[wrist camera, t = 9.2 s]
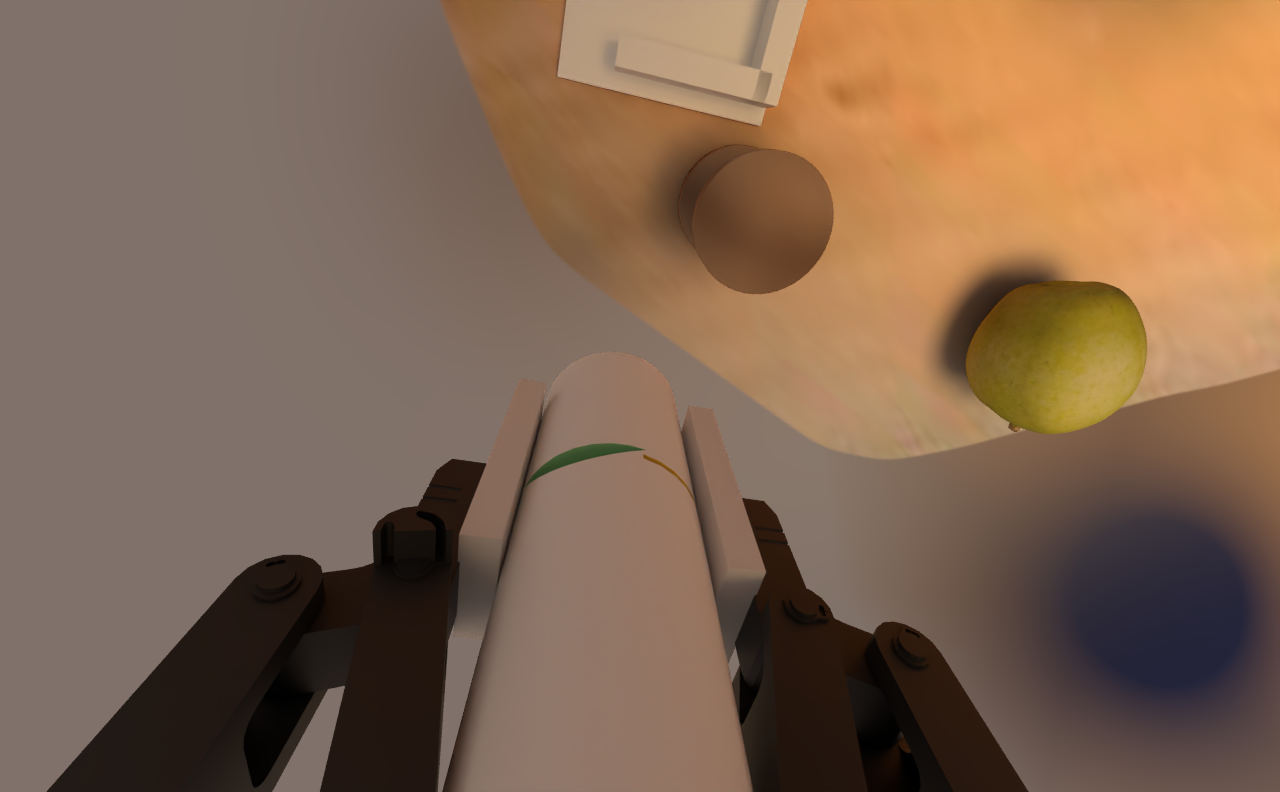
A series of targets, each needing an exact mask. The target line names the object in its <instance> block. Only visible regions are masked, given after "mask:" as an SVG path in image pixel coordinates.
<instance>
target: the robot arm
mask: <svg viewBox="0 0 1280 792" xmlns="http://www.w3.org/2000/svg"><path fill="white" fill-rule="evenodd" d="M545 388H546V383H544V382H538V381H532V380H526V379H520V380H519V383H518V385H517V388H516V391H515V393H514V396H513V398H512V401H511V403H510V406H509V408H508V411H507V413H506V416H505V418H504V421H503V424H502V426H501V429H500V431H499V434H498V437H497V439H496V441H495V444H494V447H493V449H492V452H491V454H490V457H489V459H488V462H487V464H486V463H478V462H472V461H464V460H457V459H451V460H450V461H449V462H447V463H446V464H444V465H443V466H442V467H440V468H439V469H438V470H437V471H436V473H435V475H434V477H433V478H432V480H431V482H430V484H429V487H428V488H427V490H426V492H425V494H424V495H423V499H421V501H420V503H419V505H418V506H415V507H407V508H402V509H399V510H396V511H394V512H391V513H389V514H387V515H386V516H385V517H384V518H382V519H381V520H380V521H378V523H377V525H376V526H375V528H374V530H373V554H374V563H372V564H369V565H366V566H364V567H359V568H354V569H348V570H341V571H333V572H326V573H322V569H321V566H320V565H319V564H317V562H316V561H314V560H313V559H311V558H308V557H305V556H301V555H281V556H277V557H272V558H268V559H265V560H262V561H260V562H258V563H256V564H254V565H252V566H250V567H248V568H247V569H246V570H245V571H243V572H242V573H241V574H240V575H239V576H237V577H236V578H235V579H234V580H233V582H232V583H231V584H230V585H229V586H228V587H227V588H226V589H225V591H224V592H223V593H222V594H221V595H220V596H219V597H218V598H217V600H216V601H215V602H214V603H213V604H212V605H211V606H210V607H209V609H208V610H207V611H206V612H205V613H204V614H203V615H202V616H201V618H200V619H199V620H198V621H197V622H196V623H195V624H194V626H193V627H192V628H191V629H190V630H189V631H188V632H187V634H186V635H185V636H184V637H183V638H182V639H181V640H180V641H179V642H178V644H177V645H176V646H175V647H174V648H173V649H172V650H171V651H170V653H169V654H168V655H167V656H166V657H165V658H164V659H163V661H162V662H161V663H160V664H159V665H158V666H157V667H156V668H155V670H154V671H153V672H152V673H151V674H150V675H149V676H148V678H147V679H146V680H145V681H144V682H143V683H142V684H141V685H140V687H139V688H138V689H137V690H136V691H135V692H134V693H133V694H132V696H131V697H130V698H129V699H128V700H127V701H126V702H125V704H124V705H123V706H122V707H121V708H120V709H119V710H118V711H117V713H116V714H115V715H114V716H113V717H112V718H111V719H110V721H109V722H108V723H107V724H106V725H105V726H104V727H103V728H102V730H101V731H100V732H99V733H98V734H97V735H96V736H95V737H94V739H93V740H92V741H91V742H90V743H89V744H88V745H87V746H86V748H85V749H84V750H83V751H82V752H81V753H80V755H79V756H78V757H77V758H76V759H75V760H74V761H73V762H72V764H71V765H70V766H69V767H68V768H67V769H66V770H65V771H64V773H63V774H62V775H61V776H60V777H59V778H58V779H57V781H56V782H55V783H54V784H53V785H52V786H51V787H50V788H49V790H48V791H47V792H272V791H273V789H274V787H275V786H276V784H277V782H278V780H279V778H280V776H281V774H282V773H283V771H284V769H285V767H286V765H287V763H288V762H289V760H290V758H291V756H292V754H293V752H294V751H295V749H296V747H297V745H298V743H299V741H300V740H301V738H302V735H303V734H304V732H305V730H306V728H307V727H308V725H309V723H310V721H311V719H312V717H313V716H314V714H315V712H316V710H317V708H318V706H319V705H320V703H321V701H322V699H323V697H324V695H325V693H326V692H327V690H328V689H331V688H335V687H340V686H345V689H344V693H343V697H342V702H341V706H340V710H339V714H338V718H337V722H336V727H335V731H334V735H333V739H332V744H331V747H330V752H329V756H328V760H327V764H326V769H325V772H324V777H323V781H322V785H321V789H320V792H438V779H439V765H440V751H441V735H442V722H443V707H444V694H445V680H446V664H447V648H448V640H449V637H450V634H451V631H452V628H453V625H454V633H453V636H456V637H466V638H476V639H483V637H484V633H485V630H486V626H487V622H488V618H489V615H490V611H491V607H492V603H493V600H494V596H495V592H496V588H497V585H498V581H499V577H500V573H501V570H502V566H503V562H504V558H505V555H506V551H507V547H508V544H509V540H510V536H511V533H512V529H513V525H514V521H515V518H516V514H517V510H518V507H519V503H520V499H521V495H522V492H523V488H524V484H525V480H526V476H527V473H528V469H529V465H530V461H531V458H532V454H533V450H534V446H535V442H536V439H537V435H538V431H539V427H540V424H541V419H542V411H543V403H544V396H545ZM681 434H682V439H683V444H684V449H685V454H686V459H687V463H688V468H689V473H690V478H691V483H692V488H693V493H694V498H695V503H696V508H697V513H698V518H699V523H700V527H701V532H702V537H703V542H704V547H705V552H706V557H707V562H708V567H709V572H710V577H711V582H712V587H713V592H714V597H715V602H716V607H717V611H718V616H719V621H720V626H721V631H722V636H723V641H724V646H725V651H726V656H727V661H728V663H729V660H730V658H731V656H732V653H733V651H734V649H735V646H736V650H737V655H738V659H739V664H740V665H739V668H738V670H737V673H736V675H735V677H734V680H733V682H732V686H733V691H734V696H735V701H736V706H737V711H738V716H739V721H740V726H741V731H742V736H743V741H744V746H745V751H746V756H747V761H748V766H749V771H750V776H751V781H752V786H753V791H754V792H1028V790H1027V789H1026V787H1025V785H1024V784H1023V782H1022V781H1021V779H1020V778H1019V776H1018V774H1017V773H1016V771H1015V770H1014V768H1013V766H1012V765H1011V763H1010V762H1009V760H1008V759H1007V757H1006V755H1005V754H1004V752H1003V751H1002V749H1001V748H1000V746H999V744H998V743H997V741H996V740H995V738H994V737H993V735H992V733H991V732H990V730H989V728H988V727H987V725H986V724H985V722H984V721H983V719H982V717H981V716H980V715H979V713H978V711H977V710H976V708H975V707H974V705H973V703H972V702H971V700H970V698H969V697H968V695H967V694H966V692H965V691H964V689H963V687H962V686H961V684H960V683H959V681H958V679H957V678H956V676H955V675H954V673H953V672H952V670H951V668H950V667H949V665H948V664H947V662H946V660H945V659H944V657H943V656H942V654H941V653H940V652H939V650H938V649H937V648H936V646H935V645H934V644H933V643H932V642H931V641H930V640H929V639H928V638H926V637H925V636H924V635H923V634H921V633H920V632H919V631H917V630H915V629H913V628H911V627H909V626H907V625H905V624H901V623H897V622H884V623H882V624H881V625H880V626H878V627H877V628H876V630H875V632H874V633H873V634H871V633H868V632H865V631H863V630H860V629H858V628H855V627H852V626H850V625H847V624H845V623H843V622H841V621H839V620H836V619H835V618H834V617H833V614H832V612H831V609H830V608H829V606H828V605H827V604H826V603H825V602H824V600H822V598H821V597H819V596H818V595H816V594H815V593H814V592H812V591H811V590H809V589H806V586H805V584H804V581H803V579H802V577H801V574H800V571H799V569H798V567H797V564H796V561H795V559H794V557H793V554H792V552H791V549H790V547H789V545H787V544H788V542H787V539H786V537H785V534H784V533H783V529H782V527H781V525H780V522H779V520H778V517H777V515H776V514H775V513H774V512H773V511H772V509H771V508H770V507H769V506H768V505H767V504H766V503H765V502H764V501H759V500H751V499H745V498H742V497H741V494H740V491H739V488H738V486H737V482H736V479H735V476H734V473H733V470H732V467H731V464H730V461H729V458H728V455H727V452H726V449H725V446H724V443H723V440H722V436H721V433H720V430H719V427H718V424H717V421H716V418H715V415H714V412H713V410H712V409H706V408H700V407H694V406H688V409H687V413H686V417H685V420H684V424H683V428H682V431H681Z"/></svg>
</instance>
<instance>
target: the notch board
mask: <svg viewBox="0 0 1280 792" xmlns="http://www.w3.org/2000/svg"><path fill="white" fill-rule="evenodd" d="M807 1H808V0H566V9H565V17H564V25H563V33H562V42H561V50H560V58H559V66H558V75H557V76H558V77H560V78H564V79H568V80H572V81H576V82H580V83H584V84H588V85H592V86H596V87H601V88H605V89H609V90H613V91H617V92H621V93H625V94H629V95H633V96H637V97H641V98H645V99H649V100H654V101H658V102H662V103H666V104H670V105H674V106H678V107H682V108H686V109H690V110H694V111H698V112H702V113H707V114H711V115H715V116H719V117H723V118H727V119H731V120H735V121H739V122H743V123H747V124H751V125H755V126H761V123H762V120H763V116H764V112H765V109H766V108H769V107H777V105H778V101H779V98H780V94H781V91H782V87H783V84H784V81H785V77H786V74H787V70H788V67H789V63H790V60H791V56H792V53H793V49H794V46H795V42H796V39H797V35H798V32H799V28H800V25H801V21H802V18H803V14H804V11H805V8H806V4H807Z"/></svg>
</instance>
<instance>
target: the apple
mask: <svg viewBox="0 0 1280 792" xmlns="http://www.w3.org/2000/svg"><path fill="white" fill-rule="evenodd" d="M1146 357H1147V339H1146V332H1145V328H1144V325H1143V322H1142V319H1141V317H1140V314H1139V312H1138V310H1137V308H1136V306H1135V304H1134V303H1133V301H1132V300H1131V299H1130V298H1129V296H1128V295H1126V294H1125V293H1124V292H1123V291H1122V290H1120V289H1119V288H1116V287H1114V286H1111V285H1109V284H1105V283H1101V282H1078V281H1047V282H1041V283H1036V284H1028V285H1023V286H1020V287H1018V288H1016V289H1014V290H1012V291H1011V292H1009V293H1008V294H1007V295H1006V296H1005V297H1004V298H1002V299H1001V300H1000V301H999V302H998V303H997V304H996V305H995V307H994V308H993V309H992V310H991V311H990V313H989V314H988V315H987V316H986V317H985V319H984V320H983V321H982V323H981V324H980V326H979V327H978V329H977V331H976V332H975V334H974V336H973V338H972V340H971V343H970V345H969V348H968V352H967V357H966V373H967V378H968V381H969V384H970V387H971V389H972V391H973V392H974V394H975V395H976V396H977V398H978V399H979V400H980V401H981V402H982V403H983V404H985V405H986V406H988V407H989V408H990V409H991V410H993V411H994V412H995V413H996V414H998V415H999V416H1000V417H1001V418H1003V419H1005V420H1006V421H1008V422H1010V424H1009V427H1008V428H1009V429H1011V430H1012V431H1014V432H1018V431H1019V430H1020V427H1021V428H1023V429H1026V430H1030V431H1033V432H1037V433H1042V434H1058V433H1066V432H1070V431H1075V430H1079V429H1082V428H1085V427H1088V426H1090V425H1093V424H1095V423H1098V422H1100V421H1102V420H1103V419H1105V418H1107V417H1108V416H1110V415H1111V414H1113V413H1114V412H1115V411H1117V410H1118V409H1119V408H1120V407H1121V406H1122V405H1123V404H1124V403H1125V402H1126V401H1127V400H1128V399H1129V398H1130V397H1131V395H1132V394H1133V393H1134V391H1135V390H1136V388H1137V386H1138V384H1139V382H1140V380H1141V378H1142V375H1143V372H1144V369H1145V364H1146Z"/></svg>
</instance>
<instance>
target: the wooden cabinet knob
mask: <svg viewBox="0 0 1280 792" xmlns="http://www.w3.org/2000/svg"><path fill="white" fill-rule="evenodd" d="M678 209H679V218H680V223H681V226H682V228H683V231H684V233H685V235H686V237H687V238H688V240H689V241H690V243H691V244H692V245H693V247H694V248H695V249H696V250H697V253H698V255H699V257H700V259H701V260H702V262H703V264H704V265H705V267H706V268H707V270H708V271H709V272H710V273H711V274H712V276H713V277H714V278H715V279H717V280H718V281H719V282H720V283H722V284H723V285H725V286H727V287H728V288H731V289H733V290H735V291H739V292H742V293H748V294H765V293H771V292H775V291H778V290H781V289H783V288H786V287H788V286H790V285H792V284H794V283H795V282H796V281H798V280H799V279H801V278H802V277H803V276H804V275H806V274H807V273H808V272H809V271H810V270H811V269H812V268H813V266H814V265H815V264H816V263H817V261H818V260H819V259H820V257H821V255H822V254H823V252H824V250H825V248H826V246H827V243H828V241H829V238H830V235H831V231H832V225H833V202H832V198H831V193H830V191H829V188H828V185H827V183H826V182H825V180H824V178H823V176H822V175H821V174H820V172H819V171H818V170H817V169H816V168H815V167H814V166H813V165H812V164H811V163H809V162H808V161H807V160H805V159H804V158H802V157H800V156H798V155H796V154H793V153H790V152H786V151H780V150H774V149H758V148H755V147H751V146H745V145H730V146H725V147H721V148H718V149H716V150H714V151H712V152H710V153H708V154H707V155H705V156H704V157H703V158H701V159H700V160H699V161H698V162H697V163H696V164H695V165H694V166H693V168H692V169H691V170H690V172H689V173H688V175H687V177H686V179H685V181H684V183H683V185H682V189H681V192H680V197H679V208H678Z"/></svg>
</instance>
